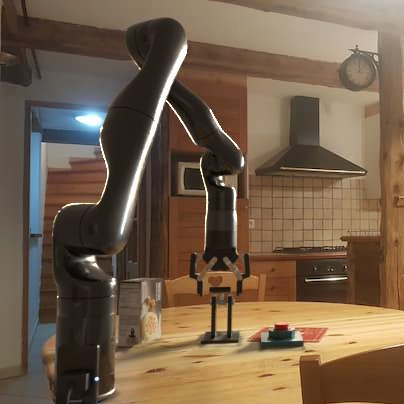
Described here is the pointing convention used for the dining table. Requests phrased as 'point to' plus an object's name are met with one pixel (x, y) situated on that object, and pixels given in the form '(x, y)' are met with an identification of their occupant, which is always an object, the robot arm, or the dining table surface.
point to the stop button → (281, 326)
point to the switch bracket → (215, 335)
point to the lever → (221, 295)
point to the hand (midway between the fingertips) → (220, 296)
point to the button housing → (281, 338)
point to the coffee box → (139, 311)
